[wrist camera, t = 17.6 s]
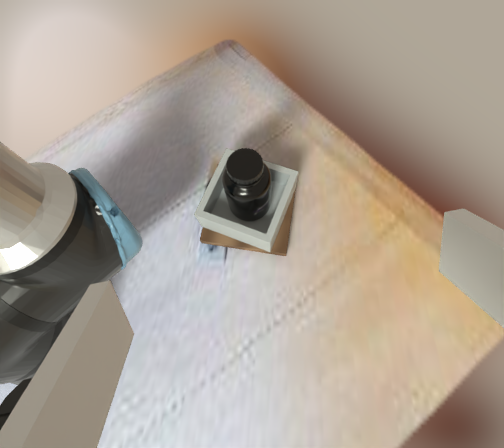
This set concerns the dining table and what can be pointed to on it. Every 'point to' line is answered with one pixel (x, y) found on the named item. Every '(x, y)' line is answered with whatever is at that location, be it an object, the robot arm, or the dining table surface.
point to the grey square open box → (251, 232)
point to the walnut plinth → (277, 249)
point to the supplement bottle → (247, 185)
